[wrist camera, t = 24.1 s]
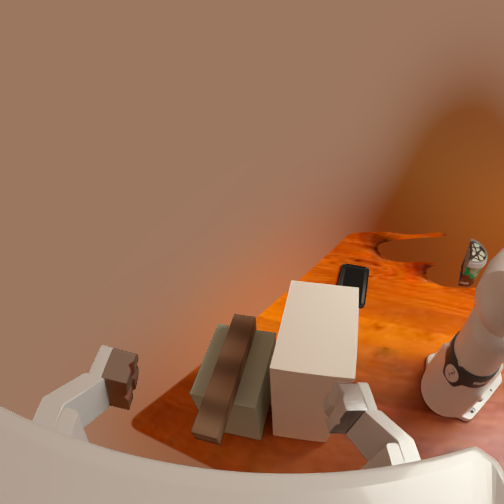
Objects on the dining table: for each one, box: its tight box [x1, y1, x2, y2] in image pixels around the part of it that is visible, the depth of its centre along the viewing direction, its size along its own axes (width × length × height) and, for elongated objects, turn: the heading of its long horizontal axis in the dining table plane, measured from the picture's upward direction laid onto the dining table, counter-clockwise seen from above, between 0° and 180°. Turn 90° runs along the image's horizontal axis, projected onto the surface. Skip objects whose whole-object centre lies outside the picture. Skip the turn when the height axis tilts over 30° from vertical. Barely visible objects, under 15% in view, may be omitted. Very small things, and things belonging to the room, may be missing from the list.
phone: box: [338, 264, 369, 308], centre depth 80 cm, size 8×1×15 cm
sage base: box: [190, 324, 276, 440], centre depth 52 cm, size 14×10×16 cm
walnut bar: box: [191, 314, 256, 445], centre depth 43 cm, size 21×4×3 cm, turn 166°
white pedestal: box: [270, 280, 359, 442], centre depth 47 cm, size 15×10×26 cm, turn 166°
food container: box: [459, 239, 487, 286], centre depth 74 cm, size 12×6×10 cm, turn 144°
